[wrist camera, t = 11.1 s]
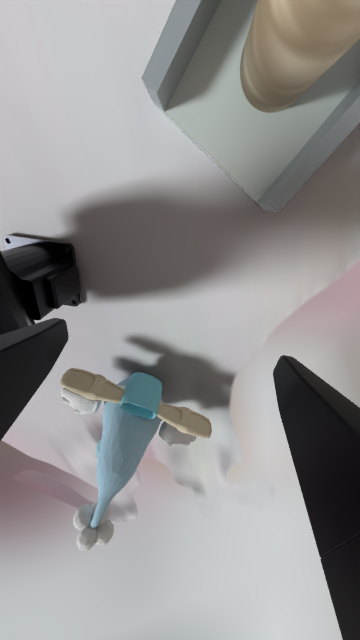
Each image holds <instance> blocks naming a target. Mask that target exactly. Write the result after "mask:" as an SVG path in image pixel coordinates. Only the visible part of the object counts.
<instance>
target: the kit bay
mask: <svg viewBox="0 0 360 640" xmlns="http://www.w3.org/2000/svg"><path fill="white" fill-rule="evenodd" d="M257 3H258V0H176V2H175V4H174V6H173V8H172V11H171V13H170V15H169V17H168V20H167V22H166V24H165V27H164V29H163V31H162V33H161V36H160V38H159V40H158V42H157V45H156V47H155V49H154V51H153V54H152V56H151V58H150V60H149V63H148V65H147V67H146V69H145V72H144V74H143V76H142V80H143V82H144V84H145V86H146V88H147V90H148V93H149V95H150V97H151V99H152V101H153V103H154V104H155V105H156V106H157V107H158V108H159V109H160V110H161V111H162V112H163V113H164V114H165V115H166V116H167V117H168V118H169V119H170V120H171V121H172V122H173V123H175V124H176V125H177V126H178V127H179V128H180V129H181V130H182V131H183V132H184V133H185V134H186V135H187V136H188V137H189V138H190V139H191V140H192V141H193V142H194V143H195V144H196V145H197V146H198V147H199V148H200V149H201V150H202V151H203V152H204V153H206V154H207V155H208V156H209V157H210V158H211V159H212V160H213V161H214V162H215V163H216V164H217V165H218V166H219V167H220V168H221V169H222V170H223V171H224V172H225V173H226V174H227V175H228V176H229V177H230V178H231V179H232V180H233V181H234V182H236V183H237V184H238V185H239V186H240V187H241V188H242V189H243V190H244V191H245V192H246V193H247V194H248V195H249V196H250V197H251V198H252V199H253V200H254V201H255V202H256V203H257V204H258V205H259V206H260V207H261V208H262V209H263V210H265V211H270V212H276V213H279V212H280V211H281V210H282V209H283V207H284V206H285V205H286V204H287V203H288V202H289V201H290V200H291V199H292V197H293V196H294V195H295V194H296V193H297V192H298V191H299V190H300V188H301V187H302V186H303V185H304V184H305V183H306V182H307V181H308V180H309V178H310V177H311V176H312V175H313V174H314V173H315V172H316V171H317V170H318V168H319V167H320V166H321V165H322V164H323V163H324V162H325V161H326V160H327V158H328V157H329V156H330V155H331V154H332V153H333V152H334V151H335V150H336V148H337V147H338V146H339V145H340V144H341V143H342V142H343V141H344V140H345V138H346V137H347V136H348V135H349V134H350V133H351V132H352V131H353V130H354V128H355V127H356V126H357V125H358V124H359V123H360V39H359V40H358V41H357V42H356V43H355V44H354V45H353V46H352V47H351V48H349V49H348V50H347V51H346V52H345V53H344V54H343V55H342V56H341V57H340V58H339V59H338V60H337V61H336V62H335V63H334V64H333V65H332V66H331V67H330V68H329V69H328V70H327V71H326V72H325V73H324V74H323V75H322V76H321V77H320V78H319V79H318V80H317V81H316V82H315V83H314V84H313V85H312V86H310V87H309V88H308V89H307V90H306V91H305V92H304V93H303V94H302V95H301V96H300V97H299V98H298V99H297V100H296V101H295V102H294V103H293V104H292V105H290V106H289V107H287V108H286V109H284V110H281V111H278V112H274V113H265V112H262V111H259V110H257V109H256V108H254V107H253V106H252V105H251V104H250V103H249V101H248V100H247V98H246V96H245V94H244V92H243V89H242V85H241V79H240V62H241V55H242V51H243V47H244V44H245V41H246V38H247V35H248V31H249V28H250V25H251V22H252V19H253V16H254V12H255V9H256V6H257Z"/></svg>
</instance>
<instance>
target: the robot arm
mask: <svg viewBox="0 0 360 640" xmlns="http://www.w3.org/2000/svg"><path fill="white" fill-rule="evenodd" d="M9 239H10V241H11V242H10V241H9ZM3 242H4V246H5V249H6V250H4V251H1V252H0V441H1V440H2V438H3V437H4V435H5V434H6V433H7V431H8V430H9V428H10V427H11V426H12V424H13V423H14V421H15V420H16V419H17V417H18V416H19V414H20V413H21V412H22V410H23V409H24V407H25V406H26V405H27V403H28V402H29V400H30V399H31V398H32V396H33V395H34V394H35V392H36V391H37V389H38V388H39V387H40V385H41V384H42V382H43V381H44V380H45V378H46V377H47V375H48V374H49V372H50V371H51V369H52V368H53V366H54V364H55V362H56V361H57V359H58V357H59V355H60V354H61V352H62V350H63V348H64V346H65V345H66V343H67V341H68V331H67V325H66V321H65V320H63V319H58V318H53V319H49V320H46V321H43V322H40V323H37V324H35V322H34V320H41V319H42V318H43V317H44V316H46V315H47V314H48V313H50V312H51V311H52V310H54V309H58V308H60V307H61V306H62V305H69V306H78V305H79V304H80V303H81V300H80V282H79V274H78V268H77V266H76V262H75V254H74V248H73V246H72V245H71V244H70V243H66V242H59V241H52V240H45V239H38V238H31V237H24V236H17V235H4V236H3ZM66 246H67V247H68V248H69V251H68V250H67V249H66ZM74 300H75V301H76V302H77V303H76V302H74ZM273 376H274V383H275V389H276V395H277V402H278V407H279V411H280V415H281V419H282V423H283V426H284V430H285V433H286V437H287V441H288V444H289V448H290V451H291V455H292V459H293V462H294V466H295V469H296V473H297V476H298V480H299V484H300V487H301V491H302V494H303V498H304V501H305V505H306V509H307V512H308V516H309V519H310V523H311V526H312V530H313V534H314V537H315V541H316V545H317V548H318V552H319V555H320V557H321V563H322V567H323V570H324V574H325V577H326V581H327V585H328V588H329V592H330V595H331V599H332V603H333V606H334V609H335V613H336V616H337V620H338V624H339V628H340V631H341V634H342V638H343V640H360V408H359V407H358V406H357V405H355V404H354V403H353V402H351V401H350V400H349V399H347V398H346V397H345V396H343V395H342V394H341V393H339V392H338V391H337V390H335V389H334V388H333V387H332V386H330V385H329V384H327V383H326V382H325V381H324V380H322V379H321V378H320V377H318V376H317V375H316V374H314V373H313V372H312V371H310V370H309V369H308V368H306V367H305V366H304V365H303V364H301V363H300V362H299V361H297V360H296V359H295V358H293V357H291V356H285V355H283V356H281V357H280V359H279V360H278V362H277V365H276V367H275V369H274V372H273Z"/></svg>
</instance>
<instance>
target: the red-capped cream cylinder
mask: <svg viewBox="0 0 360 640" xmlns="http://www.w3.org/2000/svg"><path fill="white" fill-rule="evenodd" d="M359 39H360V0H258V3H257V6H256V9H255V12H254V16H253V19H252V22H251V25H250V28H249V31H248V35H247V38H246V41H245V44H244V47H243V51H242V55H241V62H240V79H241V85H242V89H243V92H244V94H245V96H246V98H247V100H248V101H249V103H250V104H251V105H252V106H253V107H254V108H256V109H257V110H259V111H262V112H265V113H274V112H278V111H281V110H284V109H286V108H287V107H289V106H290V105H292V104H293V103H294V102H295V101H296V100H297V99H298V98H299V97H300V96H301V95H302V94H303V93H304V92H305V91H306V90H307V89H308V88H309V87H310V86H312V85H313V84H314V83H315V82H316V81H317V80H318V79H319V78H320V77H321V76H322V75H323V74H324V73H325V72H326V71H327V70H328V69H329V68H330V67H331V66H332V65H333V64H334V63H335V62H336V61H337V60H338V59H339V58H340V57H341V56H342V55H343V54H344V53H345V52H346V51H347V50H348V49H349V48H351V47H352V46H353V45H354V44H355V43H356V42H357V41H358V40H359Z"/></svg>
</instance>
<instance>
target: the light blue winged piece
mask: <svg viewBox="0 0 360 640" xmlns="http://www.w3.org/2000/svg"><path fill="white" fill-rule="evenodd" d="M61 385H62V386H63V387H65V388H63V389H62V390H61V394H62V396H63V397H62V401H63V402H64V403H66V404H68V405H70V406H71V407H73V408H75V409H76V410H75V413H76V414H79V415H83V414H89V413H92V412H93V413H95V412H96V411H97V410H98V408H99V406H100V403H101V401H104V405H105V406H104V410H103V433H102V439H101V440H100V441H99V442H98V444H97V447H96V456H97V459H98V461H97V482H98V489H99V496H98V502H97V503H94V504H91V505H88V504H86V505H83V506H80V507H79V509H78V510H77V511H76V512H75V515H74V519H73V524H74V526H75V528H76V529H78V530H80V531H79V534H78V537H77V546H78V547H79V549H80V550H83V551H86V550H90V548H91V547H93V545H94V544H95V543H96V544H98V545H106V543H108V542H109V540H110V539H111V538H112V536H113V532H114V527H113V524H112V522H111V520H108V519H109V516H110V508H109V503H110V502H111V500H112V499H113V497H114V496H115V495H116V494H117V493H118V492H119V491H120V490H121V489H122V488H123V487H124V486H125V485H126V484H127V483H128V481H129V480H130V479H131V477H132V476H133V474H134V472H135V471H136V469H137V466H138V464H139V462H140V460H141V458H142V456H143V454H144V452H145V450H146V448H147V446H148V444H149V442H150V441H151V439H152V438H153V436H154V435H155V433H156V431H157V429H158V427H159V424H160V421H162V420H163V421H164V422H163V423H162V425H161V428H160V431H159V436H161V437H162V439H163V441H164V442H165V443H166V444H167V445H168V446H171V445H172V443H174V444H183V445H189V444H190V442H193V441H194V440H195V439H196V436H197V437H201V438H209V437H210V436H211V432H212V428H211V423H210V421H209V419H208V418H206V417H205V416H203V415H200V414H198V413H196V412H194V411H191V410H190V409H189V408H185V407H176V406H171V405H167V404H164V402H163V399H162V396H161V393H162V384H161V382H160V381H159V380H158V379H157V378H155V377H153V376H151V375H148V374H145V373H141V372H136V373H133V374H132V375H131V377H130V378H129V379H126V380H124V381H122V382H120V383H119V384H118V385H116V384H114V383H112V382H110V381H109V380H107V379H106V378H105V377H104V376H102V375H99V374H94V373H91V372H88V371H85V370H82V369H75V368H71V369H69V370H68V371H66V372H65V374H64V375H63V376H62V378H61Z"/></svg>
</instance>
